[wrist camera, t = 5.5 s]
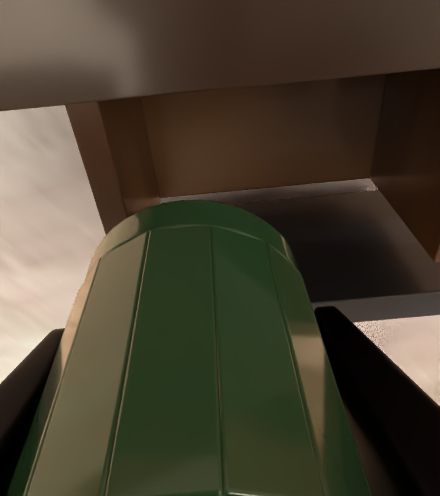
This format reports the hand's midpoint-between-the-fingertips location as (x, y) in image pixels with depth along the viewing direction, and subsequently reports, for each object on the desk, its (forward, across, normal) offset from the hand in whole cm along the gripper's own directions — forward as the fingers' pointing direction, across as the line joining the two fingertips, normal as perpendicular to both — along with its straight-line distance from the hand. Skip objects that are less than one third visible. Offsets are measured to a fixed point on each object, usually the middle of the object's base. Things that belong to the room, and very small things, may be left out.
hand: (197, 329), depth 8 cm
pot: (+1, 0, 0) cm, 1 cm away
